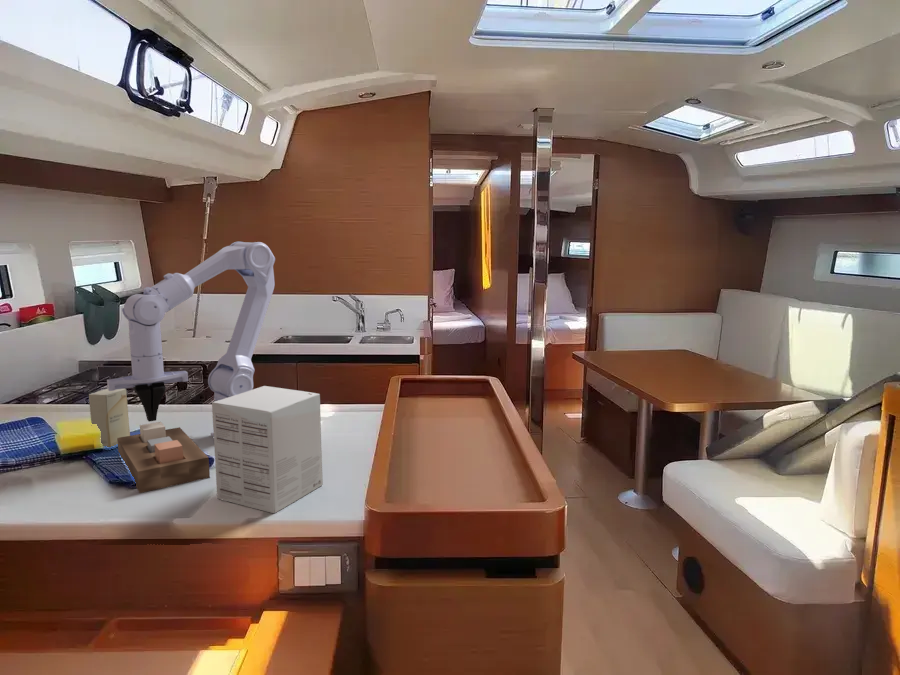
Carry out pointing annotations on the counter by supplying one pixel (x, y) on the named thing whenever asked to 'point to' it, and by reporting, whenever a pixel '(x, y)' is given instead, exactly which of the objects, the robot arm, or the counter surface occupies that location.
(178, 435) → the console
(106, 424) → the skincare box
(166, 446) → the key terracotta
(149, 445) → the key slate
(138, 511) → the counter surface
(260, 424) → the supplement box
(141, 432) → the key ivory
